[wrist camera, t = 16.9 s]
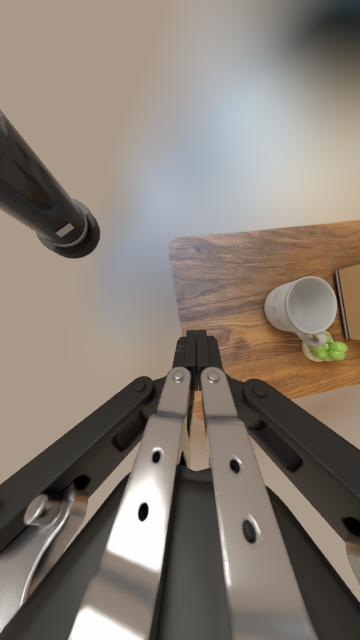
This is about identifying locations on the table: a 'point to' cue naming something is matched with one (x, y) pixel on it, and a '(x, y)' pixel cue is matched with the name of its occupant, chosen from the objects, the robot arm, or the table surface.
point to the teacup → (303, 308)
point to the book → (349, 299)
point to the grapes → (324, 349)
